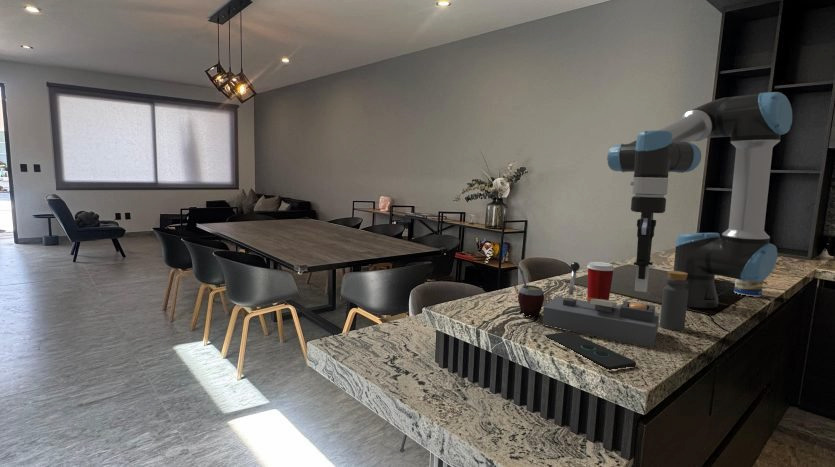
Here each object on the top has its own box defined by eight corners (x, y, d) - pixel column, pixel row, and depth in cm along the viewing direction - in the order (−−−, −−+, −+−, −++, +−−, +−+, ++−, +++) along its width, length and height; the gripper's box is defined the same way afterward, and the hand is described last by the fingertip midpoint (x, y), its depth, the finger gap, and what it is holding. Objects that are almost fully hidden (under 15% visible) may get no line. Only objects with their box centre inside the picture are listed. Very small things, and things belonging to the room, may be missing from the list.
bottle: (687, 331, 120) (694, 275, 118) (663, 329, 121) (669, 273, 119) (679, 324, 126) (685, 271, 124) (656, 322, 127) (662, 269, 125)
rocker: (596, 303, 124) (597, 298, 124) (616, 306, 122) (617, 301, 122) (590, 303, 116) (590, 298, 116) (611, 307, 113) (612, 301, 113)
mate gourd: (547, 315, 130) (550, 263, 128) (533, 321, 124) (536, 266, 122) (523, 309, 135) (527, 259, 133) (509, 315, 129) (512, 262, 127)
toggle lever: (567, 294, 125) (572, 262, 127) (576, 295, 124) (581, 263, 125) (565, 293, 123) (570, 260, 125) (574, 294, 122) (579, 261, 123)
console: (556, 313, 132) (558, 287, 131) (657, 331, 119) (660, 303, 118) (542, 325, 120) (544, 297, 120) (653, 347, 107) (656, 316, 106)
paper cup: (611, 308, 140) (615, 263, 138) (610, 315, 133) (614, 267, 131) (584, 304, 143) (587, 260, 141) (581, 310, 136) (585, 264, 134)
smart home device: (608, 366, 92) (543, 334, 110) (607, 374, 92) (542, 341, 110) (638, 361, 95) (570, 330, 113) (637, 369, 95) (569, 337, 113)
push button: (629, 310, 118) (630, 301, 117) (646, 313, 115) (647, 304, 115) (627, 314, 114) (628, 305, 114) (645, 317, 112) (646, 308, 112)
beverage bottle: (760, 294, 167) (767, 239, 165) (763, 299, 160) (770, 242, 158) (732, 290, 172) (739, 237, 169) (733, 294, 164) (740, 239, 162)
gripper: (635, 194, 119) (627, 283, 122) (628, 196, 108) (620, 294, 111) (667, 195, 115) (659, 287, 118) (664, 197, 104) (655, 299, 107)
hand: (640, 290), depth 114 cm, fingers closed
